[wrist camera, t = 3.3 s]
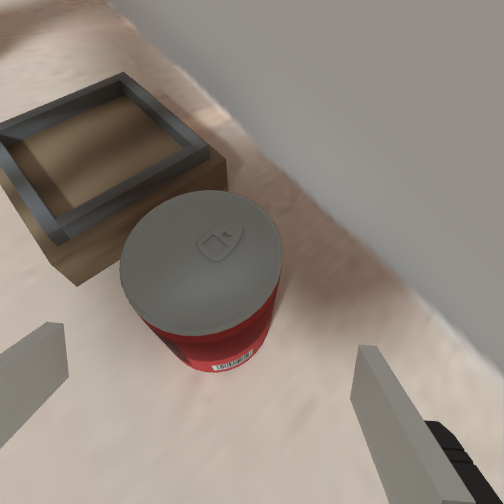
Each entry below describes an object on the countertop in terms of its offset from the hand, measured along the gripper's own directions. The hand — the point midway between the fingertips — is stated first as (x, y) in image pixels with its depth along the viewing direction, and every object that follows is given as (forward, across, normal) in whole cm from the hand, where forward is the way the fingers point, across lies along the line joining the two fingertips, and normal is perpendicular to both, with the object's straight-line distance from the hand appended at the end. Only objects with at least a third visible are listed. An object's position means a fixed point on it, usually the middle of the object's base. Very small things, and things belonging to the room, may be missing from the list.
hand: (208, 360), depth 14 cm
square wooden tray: (+19, -13, +6) cm, 24 cm away
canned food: (+10, -1, -3) cm, 11 cm away
